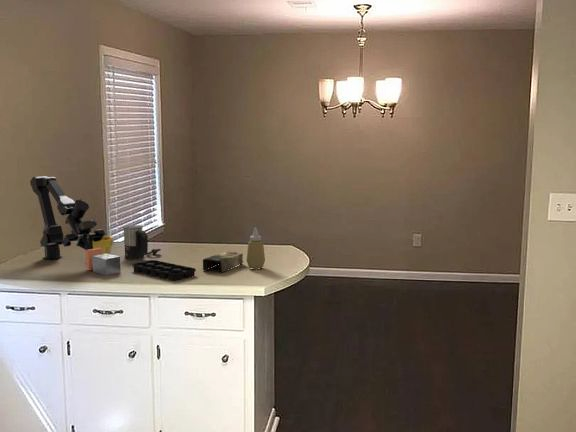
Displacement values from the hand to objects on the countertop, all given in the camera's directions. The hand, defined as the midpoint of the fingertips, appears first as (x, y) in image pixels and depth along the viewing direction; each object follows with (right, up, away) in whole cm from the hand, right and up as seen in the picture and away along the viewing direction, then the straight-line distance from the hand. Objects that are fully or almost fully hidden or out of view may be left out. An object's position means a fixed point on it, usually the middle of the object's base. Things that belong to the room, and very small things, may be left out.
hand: (92, 252), depth 295 cm
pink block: (+4, -7, -3) cm, 9 cm away
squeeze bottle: (+71, -7, 0) cm, 72 cm away
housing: (+8, -8, -6) cm, 13 cm away
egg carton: (+33, -9, -8) cm, 35 cm away
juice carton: (+57, -7, +2) cm, 58 cm away
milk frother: (+16, -3, +27) cm, 31 cm away
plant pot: (-2, -4, +22) cm, 22 cm away
